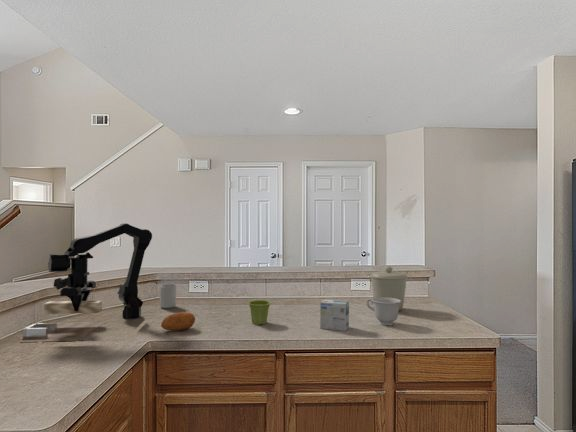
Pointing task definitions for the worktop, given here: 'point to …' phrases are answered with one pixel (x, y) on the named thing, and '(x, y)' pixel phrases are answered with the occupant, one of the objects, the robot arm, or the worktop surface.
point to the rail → (68, 308)
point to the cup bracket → (39, 330)
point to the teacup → (385, 309)
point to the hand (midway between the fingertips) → (78, 310)
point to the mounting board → (70, 330)
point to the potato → (178, 321)
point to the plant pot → (259, 311)
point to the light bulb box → (334, 314)
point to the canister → (389, 284)
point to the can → (168, 295)
